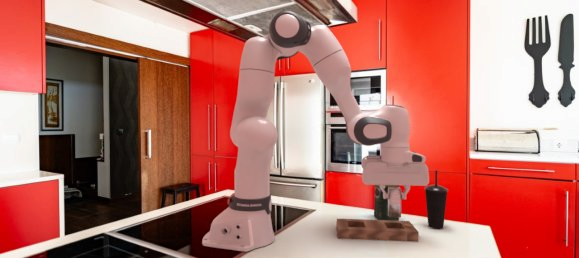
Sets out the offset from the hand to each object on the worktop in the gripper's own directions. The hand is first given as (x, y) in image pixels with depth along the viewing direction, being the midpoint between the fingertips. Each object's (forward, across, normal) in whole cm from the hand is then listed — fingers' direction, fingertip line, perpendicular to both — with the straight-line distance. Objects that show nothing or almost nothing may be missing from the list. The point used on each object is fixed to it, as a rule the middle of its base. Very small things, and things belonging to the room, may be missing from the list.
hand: (394, 198), depth 97 cm
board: (+13, -6, 0) cm, 14 cm away
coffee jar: (+13, +1, +17) cm, 21 cm away
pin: (+6, 0, 0) cm, 6 cm away
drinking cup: (+13, +17, +12) cm, 24 cm away
